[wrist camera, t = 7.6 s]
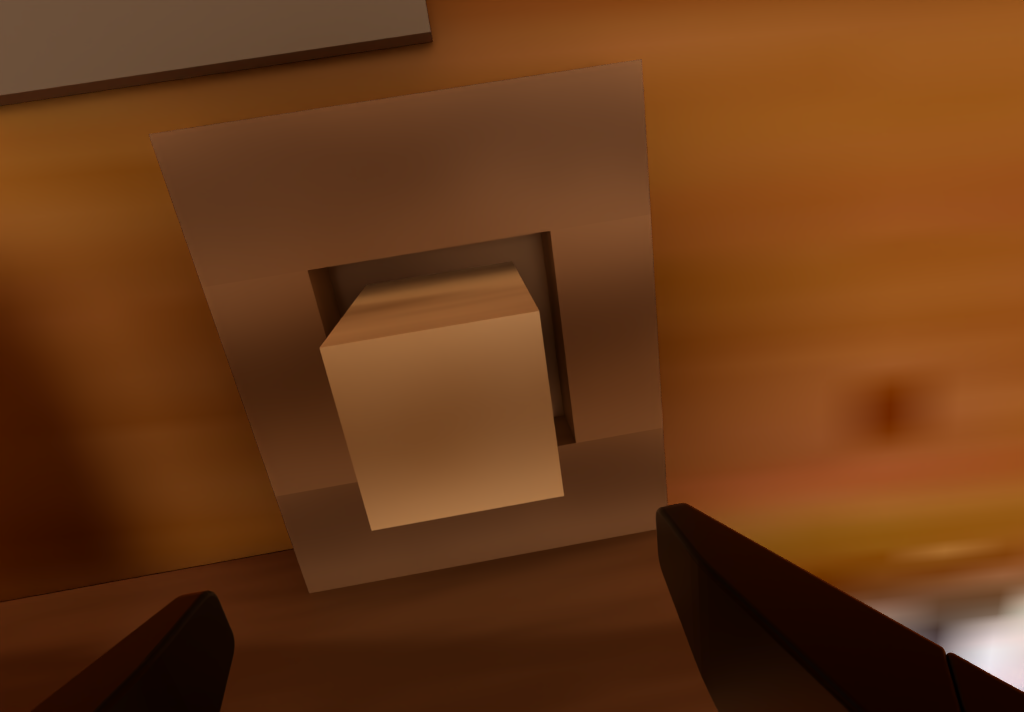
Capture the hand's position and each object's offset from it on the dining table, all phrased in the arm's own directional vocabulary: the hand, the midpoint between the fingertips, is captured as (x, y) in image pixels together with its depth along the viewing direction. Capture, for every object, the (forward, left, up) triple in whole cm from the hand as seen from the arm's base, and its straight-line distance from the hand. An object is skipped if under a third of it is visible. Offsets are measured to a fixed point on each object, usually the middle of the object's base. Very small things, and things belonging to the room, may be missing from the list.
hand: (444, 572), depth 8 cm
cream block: (0, 0, -10) cm, 10 cm away
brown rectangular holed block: (-1, +6, -11) cm, 13 cm away
